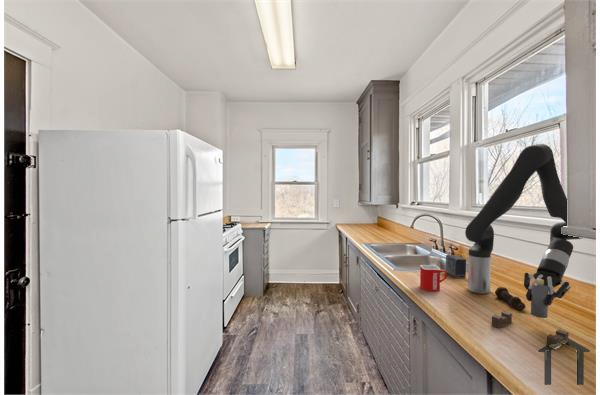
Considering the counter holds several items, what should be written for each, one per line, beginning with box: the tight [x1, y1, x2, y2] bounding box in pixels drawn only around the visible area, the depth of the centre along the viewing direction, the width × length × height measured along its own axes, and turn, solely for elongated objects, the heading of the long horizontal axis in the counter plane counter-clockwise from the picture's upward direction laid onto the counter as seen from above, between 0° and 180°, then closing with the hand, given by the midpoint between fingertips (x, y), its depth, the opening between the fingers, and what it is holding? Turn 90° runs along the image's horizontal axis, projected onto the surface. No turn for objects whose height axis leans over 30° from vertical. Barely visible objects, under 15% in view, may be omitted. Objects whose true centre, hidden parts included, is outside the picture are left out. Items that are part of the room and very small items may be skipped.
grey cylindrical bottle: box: [530, 279, 549, 319], centre depth 111 cm, size 5×5×13 cm
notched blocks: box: [491, 310, 570, 346], centre depth 108 cm, size 9×20×4 cm, turn 30°
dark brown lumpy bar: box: [494, 286, 526, 311], centre depth 134 cm, size 6×5×15 cm
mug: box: [419, 264, 448, 292], centre depth 153 cm, size 12×8×11 cm
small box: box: [445, 254, 467, 279], centre depth 175 cm, size 11×6×10 cm, turn 4°
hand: (537, 302), depth 110 cm, fingers closed on grey cylindrical bottle, 4 cm apart
